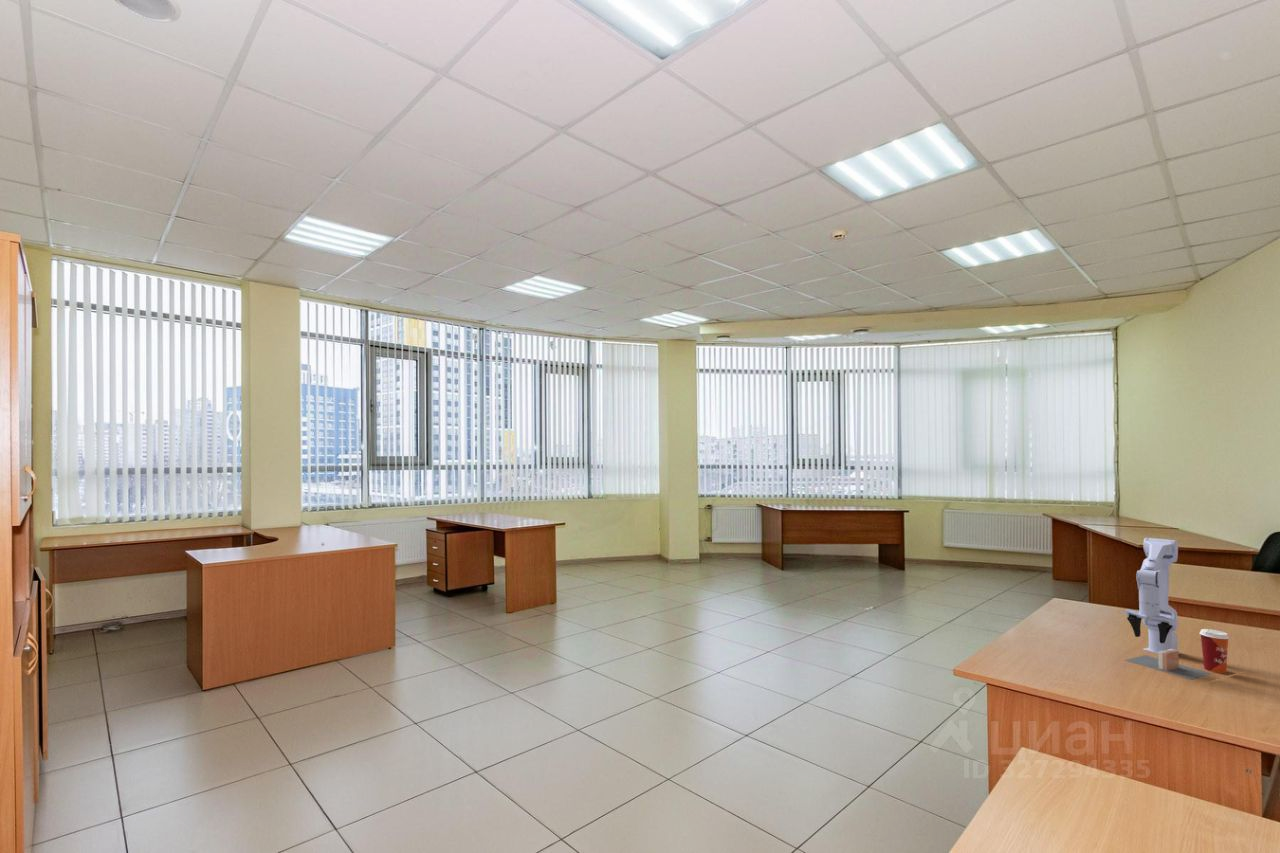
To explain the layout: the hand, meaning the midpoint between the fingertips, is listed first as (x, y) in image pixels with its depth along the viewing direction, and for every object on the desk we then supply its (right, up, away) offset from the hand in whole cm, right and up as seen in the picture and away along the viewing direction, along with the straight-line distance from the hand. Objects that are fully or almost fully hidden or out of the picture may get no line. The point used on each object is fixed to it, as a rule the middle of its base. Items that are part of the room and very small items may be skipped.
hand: (1149, 639), depth 218 cm
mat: (+3, -9, -4) cm, 10 cm away
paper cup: (+17, -9, -7) cm, 21 cm away
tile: (+2, -8, -5) cm, 10 cm away
